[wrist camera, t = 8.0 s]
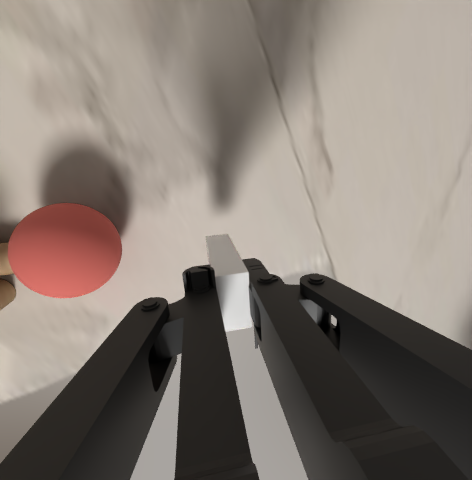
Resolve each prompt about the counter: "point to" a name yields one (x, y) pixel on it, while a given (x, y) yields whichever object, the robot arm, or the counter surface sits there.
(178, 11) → the counter surface
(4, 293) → the pin
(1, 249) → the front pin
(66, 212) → the ball
